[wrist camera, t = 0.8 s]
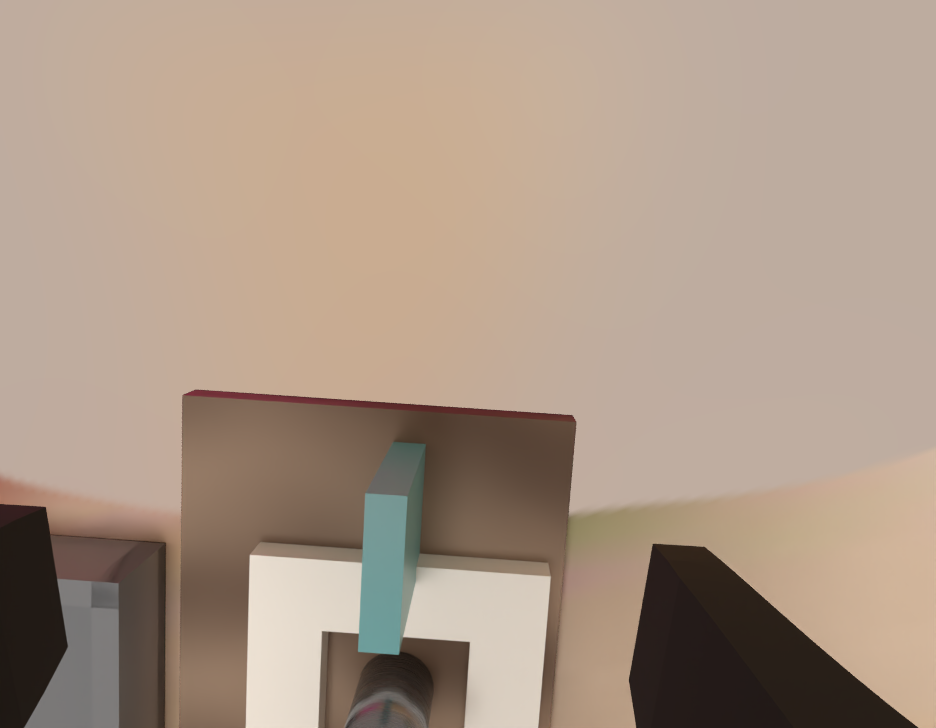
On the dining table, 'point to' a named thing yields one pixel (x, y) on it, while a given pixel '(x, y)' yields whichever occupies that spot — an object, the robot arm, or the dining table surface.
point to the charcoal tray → (108, 636)
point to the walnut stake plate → (353, 524)
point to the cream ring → (393, 610)
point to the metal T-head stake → (392, 694)
